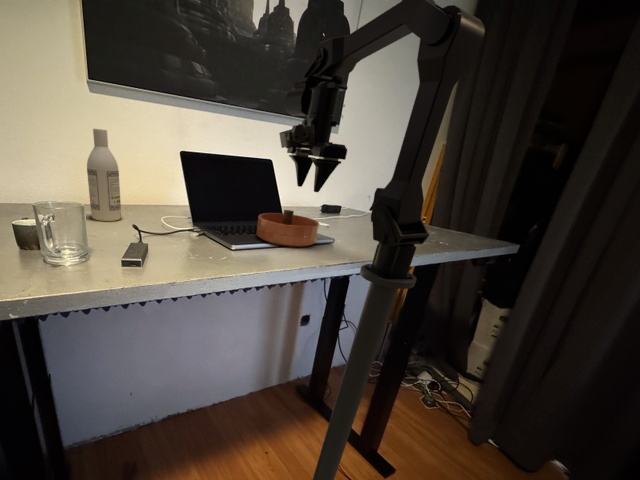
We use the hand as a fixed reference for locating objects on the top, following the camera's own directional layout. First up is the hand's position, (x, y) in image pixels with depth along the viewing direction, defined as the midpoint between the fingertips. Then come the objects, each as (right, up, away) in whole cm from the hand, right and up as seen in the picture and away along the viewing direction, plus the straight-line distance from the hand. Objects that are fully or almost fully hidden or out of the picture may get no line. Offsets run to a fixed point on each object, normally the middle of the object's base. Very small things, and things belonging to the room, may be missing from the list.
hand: (307, 189), depth 78 cm
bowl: (-5, -12, +2) cm, 13 cm away
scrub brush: (-5, -11, +2) cm, 12 cm away
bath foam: (-50, -6, +4) cm, 50 cm away
